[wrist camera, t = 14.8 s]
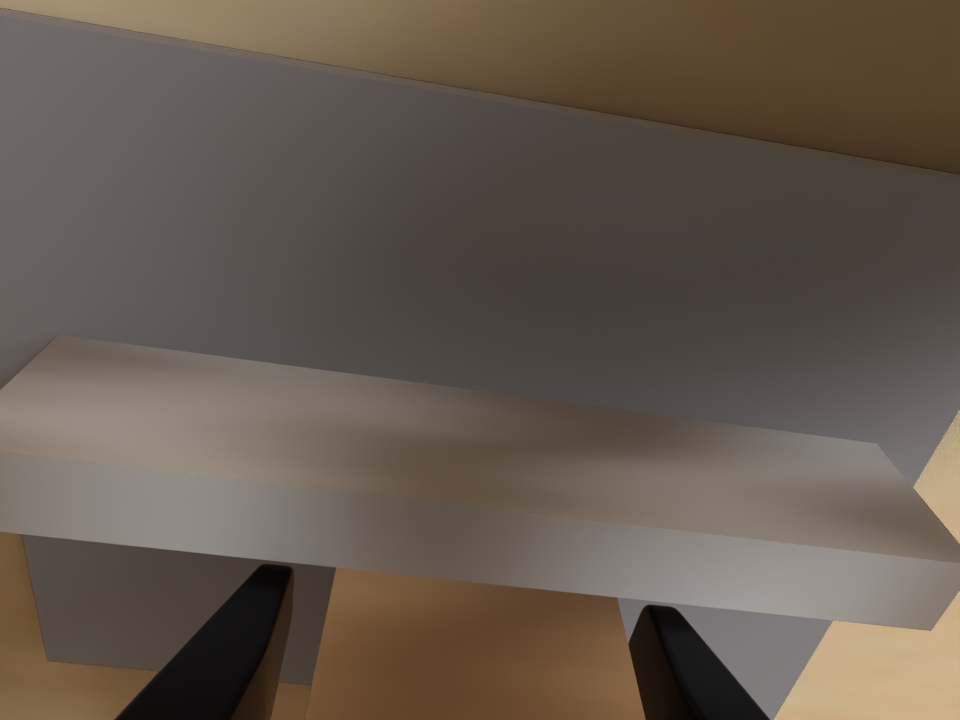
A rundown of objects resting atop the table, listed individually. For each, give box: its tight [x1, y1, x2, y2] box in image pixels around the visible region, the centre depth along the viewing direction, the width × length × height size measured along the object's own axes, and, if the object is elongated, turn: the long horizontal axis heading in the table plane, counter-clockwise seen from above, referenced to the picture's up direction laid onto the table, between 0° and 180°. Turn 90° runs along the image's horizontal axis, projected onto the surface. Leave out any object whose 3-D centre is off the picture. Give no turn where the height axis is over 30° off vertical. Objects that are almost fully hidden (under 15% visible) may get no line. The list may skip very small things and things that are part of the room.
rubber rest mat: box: [0, 8, 960, 720], centre depth 11 cm, size 14×11×1 cm
